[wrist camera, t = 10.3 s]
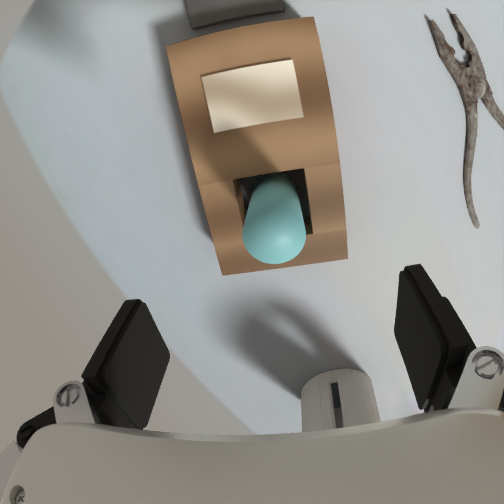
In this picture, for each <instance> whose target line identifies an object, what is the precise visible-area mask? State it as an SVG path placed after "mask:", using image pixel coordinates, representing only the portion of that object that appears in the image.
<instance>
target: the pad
mask: <svg viewBox="0 0 504 504" xmlns="http://www.w3.org/2000/svg"><path fill="white" fill-rule="evenodd" d="M186 5H187V10H188V14H189V19H190V24H191V28H192V29H193V30H195V29H199V28H202V27H206V26H210V25H214V24H218V23H223V22H227V21H232V20H236V19H241V18H247V17H252V16H258V15H264V14H270V13H277V12H285V6H284V2H283V0H186Z"/></svg>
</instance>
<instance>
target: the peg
mask: <svg viewBox="0 0 504 504" xmlns="http://www.w3.org/2000/svg"><path fill="white" fill-rule="evenodd" d="M242 238H243V243H244V245H245V247H246V249H247V251H248V252H249V253H250V254H251V255H252V256H253V257H254V258H256V259H257V260H259V261H261V262H264V263H269V264H280V263H284V262H287V261H290V260H291V259H293V258H294V257H296V256H297V255H298V254H299V253H300V251H301V250H302V248H303V246H304V244H305V240H306V230H305V225H304V221H303V216H302V211H301V206H300V201H299V197H298V192H297V188H296V185H295V183H294V182H293V180H292V179H291V178H289V177H288V176H286V175H284V174H282V173H277V172H274V173H268V174H265V175H263V176H262V177H260V178H259V179H258V180H257V181H256V183H255V185H254V187H253V191H252V195H251V199H250V203H249V207H248V211H247V215H246V219H245V223H244V227H243V232H242Z"/></svg>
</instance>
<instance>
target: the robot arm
mask: <svg viewBox="0 0 504 504" xmlns="http://www.w3.org/2000/svg"><path fill="white" fill-rule="evenodd" d="M394 333H395V338H396V341H397V343H398V346H399V349H400V352H401V355H402V357H403V360H404V363H405V366H406V369H407V372H408V375H409V378H410V381H411V384H412V388H413V391H414V394H415V397H416V401H417V404H418V407H419V409H420V410H422V409H424V411H425V413H422V414H417V415H412V416H408V417H403V418H398V419H393V420H388V421H382V422H377V423H371V424H365V425H358V426H352V427H345V428H338V429H330V430H321V431H311V432H300V433H286V434H267V435H202V434H182V433H169V432H158V431H148V430H143V428H145V427H146V426H147V424H148V422H149V418H150V415H151V412H152V409H153V406H154V403H155V400H156V397H157V394H158V391H159V388H160V385H161V383H162V379H163V377H164V374H165V371H166V368H167V365H168V362H169V359H170V354H169V350H168V348H167V346H166V344H165V342H164V340H163V338H162V336H161V334H160V332H159V330H158V328H157V326H156V324H155V322H154V320H153V318H152V316H151V314H150V311H149V309H148V307H147V305H146V304H145V303H144V302H142V301H141V300H140V299H133V300H126V301H125V302H124V303H123V305H122V306H121V308H120V310H119V311H118V313H117V314H116V316H115V318H114V320H113V321H112V323H111V325H110V326H109V328H108V329H107V331H106V333H105V335H104V336H103V338H102V340H101V342H100V343H99V345H98V347H97V348H96V350H95V352H94V354H93V355H92V357H91V359H90V361H89V363H88V364H87V366H86V368H85V370H84V372H83V374H82V375H81V377H82V378H83V379H84V381H83V383H80V382H79V381H75V380H74V381H69V382H66V383H64V384H63V385H61V386H60V387H59V388H58V389H57V391H56V392H55V394H54V397H53V407H51V408H49V409H48V410H46V411H44V412H42V413H41V414H39V415H37V416H36V417H34V418H32V419H30V420H28V421H27V422H25V423H24V424H23V425H22V426H21V427H20V429H19V431H18V433H17V442H15V441H14V440H13V441H12V442H11V443H10V444H9V445H8V446H7V447H6V448H5V449H4V450H3V451H2V452H1V453H0V504H504V354H503V353H502V352H501V351H499V350H498V349H496V348H493V347H489V346H483V347H479V348H476V346H475V344H474V342H473V341H472V339H471V337H470V335H469V333H468V332H467V330H466V328H465V326H464V325H463V323H462V321H461V320H460V318H459V316H458V315H457V313H456V311H455V310H454V308H453V306H452V305H451V303H450V302H449V300H448V299H447V298H446V297H442V296H441V294H440V293H439V291H438V290H437V288H436V286H435V285H434V283H433V282H432V280H431V279H430V277H429V276H428V274H427V273H426V271H425V270H424V268H423V267H422V265H421V264H416V265H410V266H405V268H404V271H400V274H399V286H398V298H397V308H396V317H395V326H394Z"/></svg>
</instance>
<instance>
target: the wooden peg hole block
mask: <svg viewBox="0 0 504 504" xmlns="http://www.w3.org/2000/svg"><path fill="white" fill-rule="evenodd" d="M166 50H167V55H168V59H169V64H170V69H171V73H172V78H173V82H174V87H175V91H176V96H177V100H178V104H179V109H180V113H181V117H182V121H183V126H184V130H185V134H186V138H187V142H188V146H189V150H190V155H191V159H192V163H193V167H194V171H195V175H196V179H197V182H198V186H199V190H200V194H201V198H202V202H203V206H204V209H205V213H206V217H207V221H208V225H209V228H210V232H211V236H212V239H213V243H214V247H215V250H216V254H217V258H218V261H219V265H220V268H221V272H222V275H231V274H239V273H247V272H255V271H262V270H270V269H277V268H285V267H292V266H299V265H307V264H314V263H321V262H328V261H335V260H342V259H348V250H347V234H346V220H345V208H344V197H343V187H342V178H341V169H340V160H339V152H338V145H337V137H336V130H335V123H334V117H333V111H332V104H331V99H330V93H329V87H328V82H327V76H326V71H325V66H324V61H323V56H322V51H321V47H320V42H319V38H318V33H317V29H316V25H315V21H314V17H304V18H294V19H286V20H278V21H271V22H265V23H259V24H253V25H248V26H243V27H238V28H233V29H228V30H224V31H219V32H215V33H211V34H207V35H203V36H200V37H196V38H192V39H189V40H185V41H182V42H179V43H175V44H172V45H169V46H166ZM301 168H302V170H303V176H304V183H305V190H306V197H307V204H308V211H309V219H305V220H303V221H304V225H305V230H306V240H305V244H304V246H303V248H302V250H301V251H300V253H299V254H298V255H297V256H296V257H294V258H293V259H291V260H290V261H287V262H284V263H280V264H269V263H264V262H261V261H259V260H257V259H256V258H254V257H253V256H252V255H251V254H250V253H249V252H248V251H247V249H246V247H245V245H244V243H243V238H242V232H243V227H244V223H245V219H246V215H247V212H246V207H245V202H244V198H243V193H242V188H241V184H240V179H239V178H244V177H250V176H256V175H262V174H268V173H274V172H281V171H288V170H294V169H301Z"/></svg>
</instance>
